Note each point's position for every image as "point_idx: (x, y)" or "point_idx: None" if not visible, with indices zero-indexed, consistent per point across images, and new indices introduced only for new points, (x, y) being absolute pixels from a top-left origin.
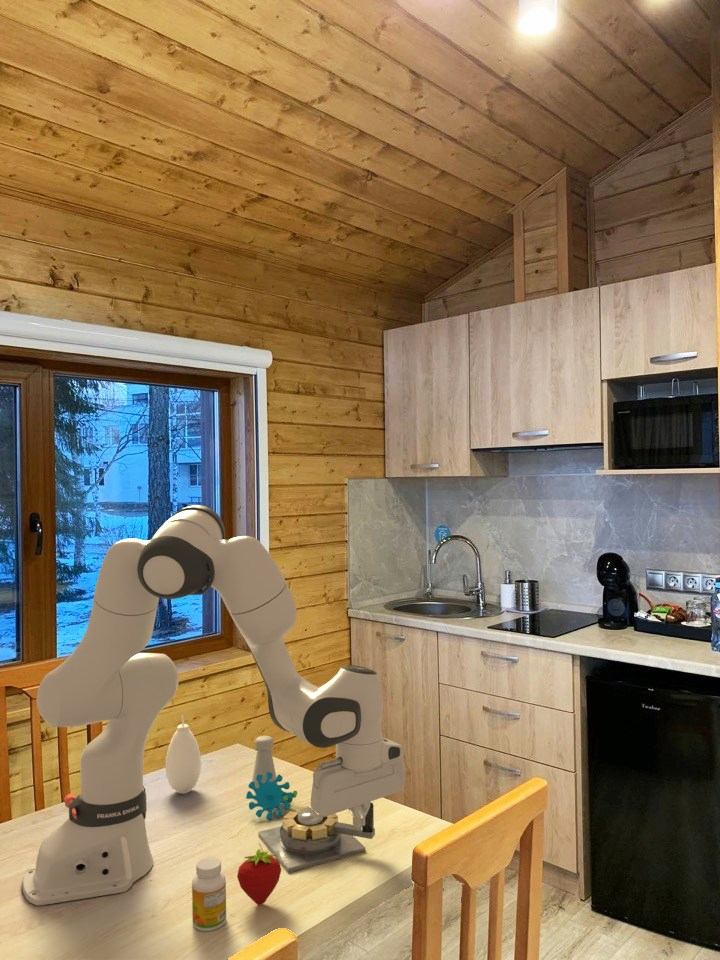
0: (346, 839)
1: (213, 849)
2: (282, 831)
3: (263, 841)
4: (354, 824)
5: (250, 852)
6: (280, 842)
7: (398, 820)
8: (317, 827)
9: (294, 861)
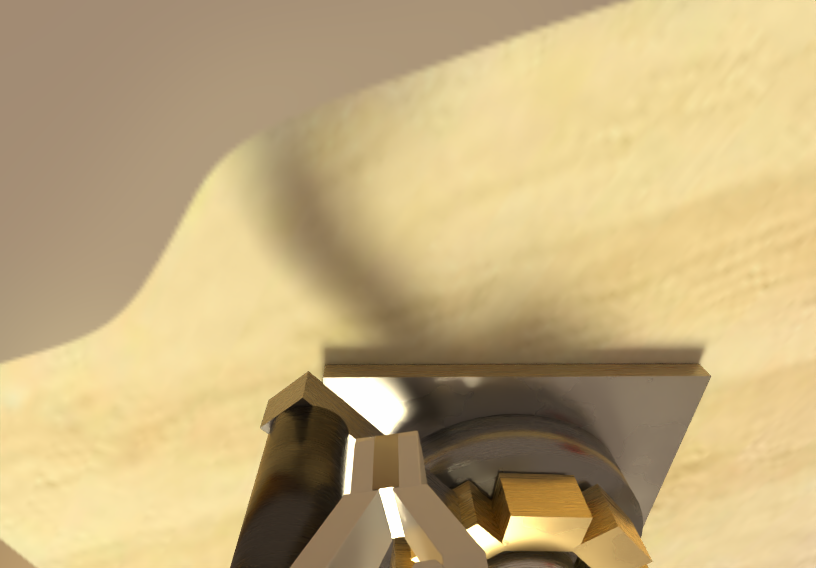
0: None
1: (765, 561)
2: None
3: None
4: (423, 468)
5: (696, 515)
6: None
7: (77, 502)
8: (548, 534)
9: (653, 407)
